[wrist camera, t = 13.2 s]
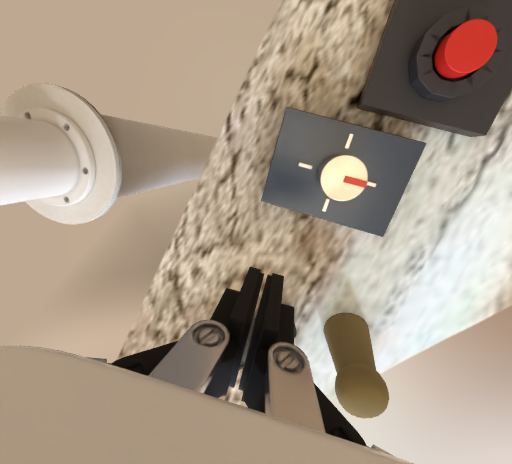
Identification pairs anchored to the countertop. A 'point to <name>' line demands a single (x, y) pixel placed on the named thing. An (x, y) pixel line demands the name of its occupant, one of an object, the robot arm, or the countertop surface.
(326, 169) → the dial
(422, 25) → the switch block
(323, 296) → the countertop surface
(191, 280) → the countertop surface
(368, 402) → the cork
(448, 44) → the power button
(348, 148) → the control panel
